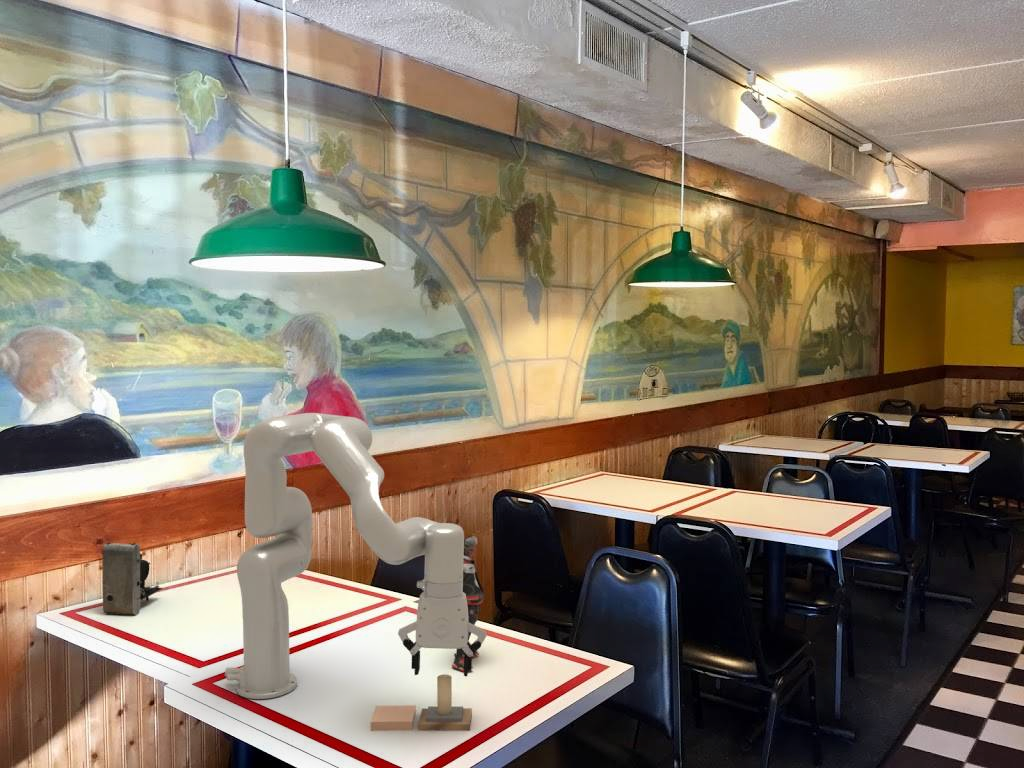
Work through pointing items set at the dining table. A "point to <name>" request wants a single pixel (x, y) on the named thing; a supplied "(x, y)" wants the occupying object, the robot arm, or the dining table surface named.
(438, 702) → the float
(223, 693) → the dining table surface
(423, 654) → the dining table surface
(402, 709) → the tile
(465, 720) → the board
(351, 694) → the dining table surface
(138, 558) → the vintage camera
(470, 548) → the action figure
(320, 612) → the dining table surface
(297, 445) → the robot arm
